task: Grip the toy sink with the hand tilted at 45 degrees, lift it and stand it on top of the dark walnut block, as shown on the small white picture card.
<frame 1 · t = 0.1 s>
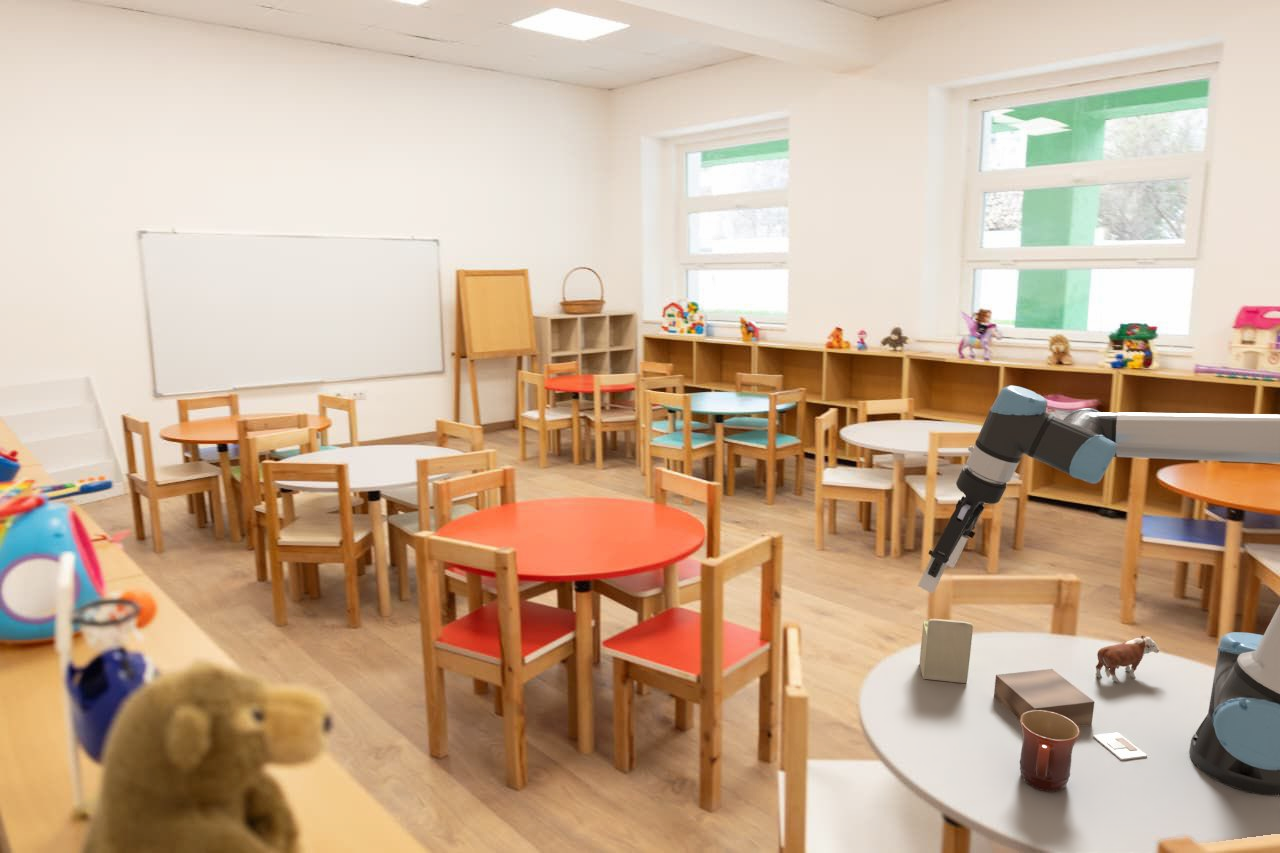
hand: (936, 576, 152), 28 cm above the table, tool tilted 20°, fingers open, 13 cm apart
walnut block: (1041, 711, 160), on the table
mug: (1041, 787, 138), on the table
bull figurine: (1122, 677, 172), on the table
toy sink: (942, 674, 173), on the table
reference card: (1119, 746, 148), on the table
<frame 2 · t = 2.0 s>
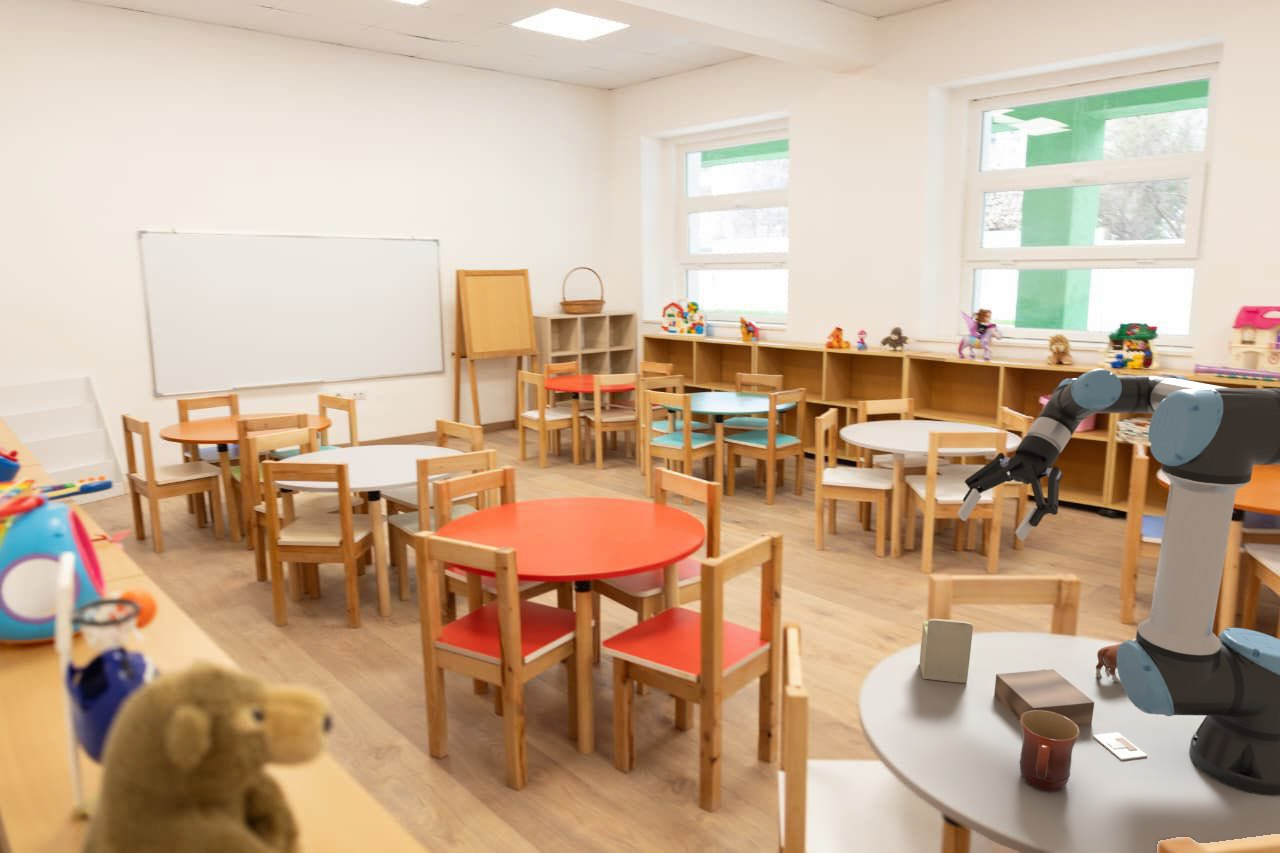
hand: (989, 526, 171), 30 cm above the table, tool tilted 45°, fingers open, 13 cm apart
nothing on the table moved.
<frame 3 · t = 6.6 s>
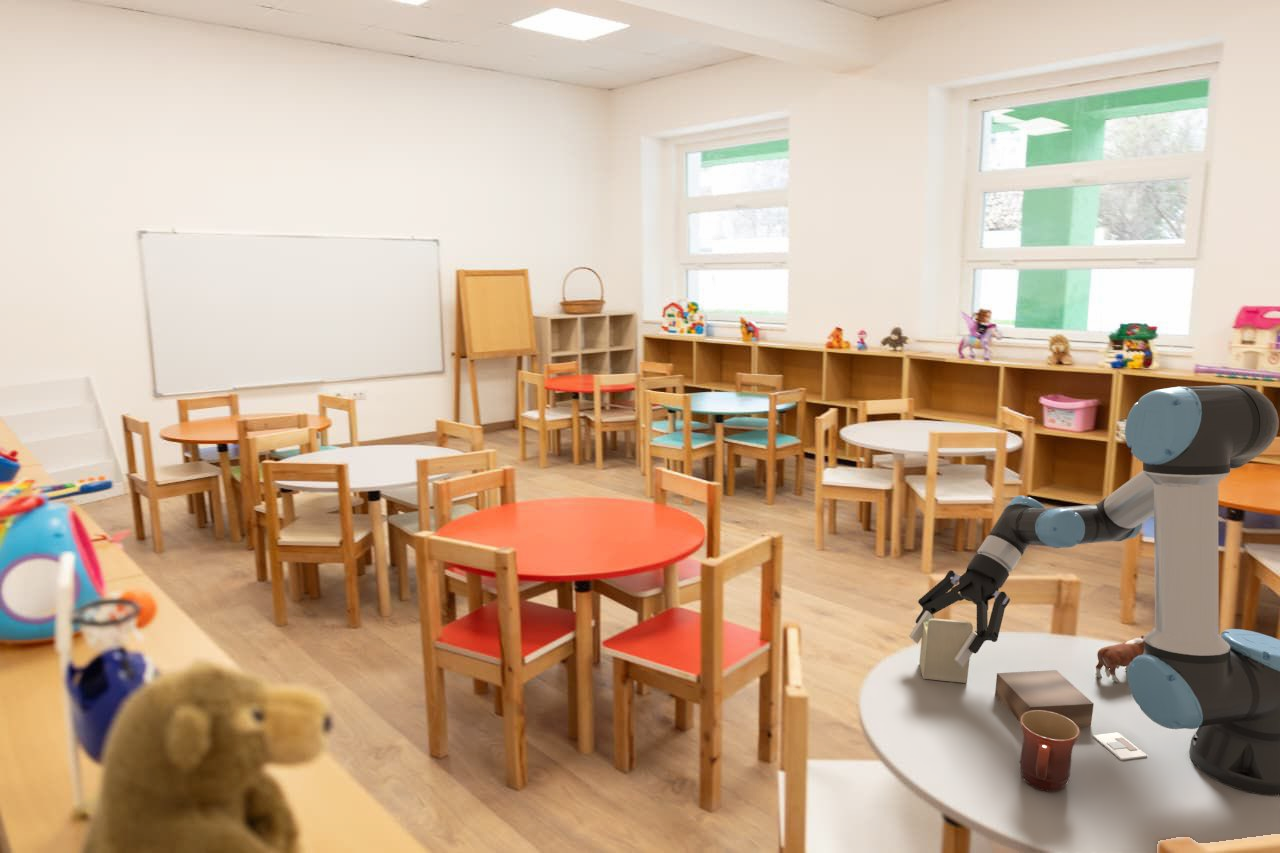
hand: (935, 651, 170), 6 cm above the table, tool tilted 45°, fingers closed on toy sink, 11 cm apart
toy sink: (942, 674, 173), on the table, touching gripper
everything else where it was.
when the fingers open (12 cm above the table, at t = 13.1 s): toy sink drops 2 cm, resting on walnut block.
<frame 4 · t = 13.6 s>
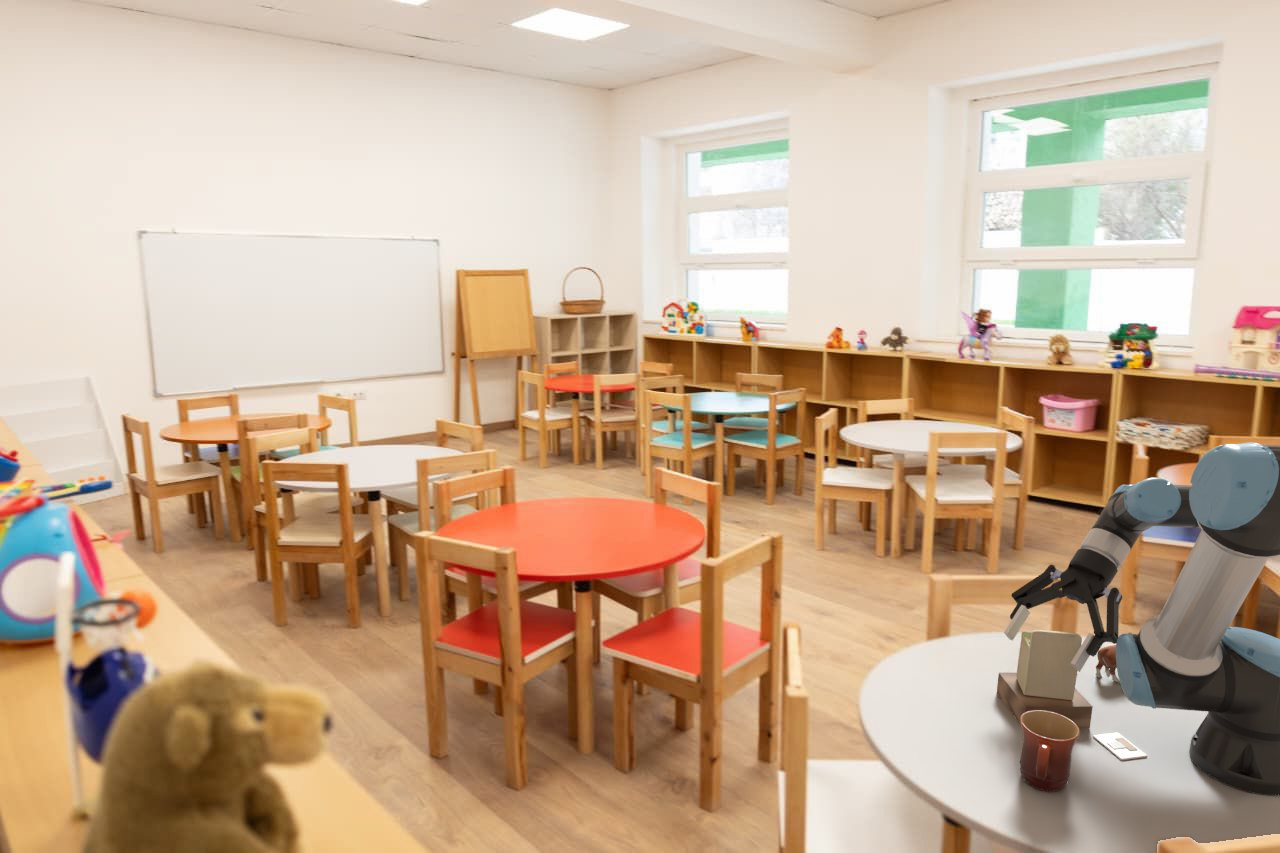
hand: (1040, 651, 156), 13 cm above the table, tool tilted 45°, fingers open, 13 cm apart
walnut block: (1041, 712, 160), on the table, touching toy sink
toy sink: (1044, 690, 159), point 4 cm above the table, touching walnut block
everything else where it was.
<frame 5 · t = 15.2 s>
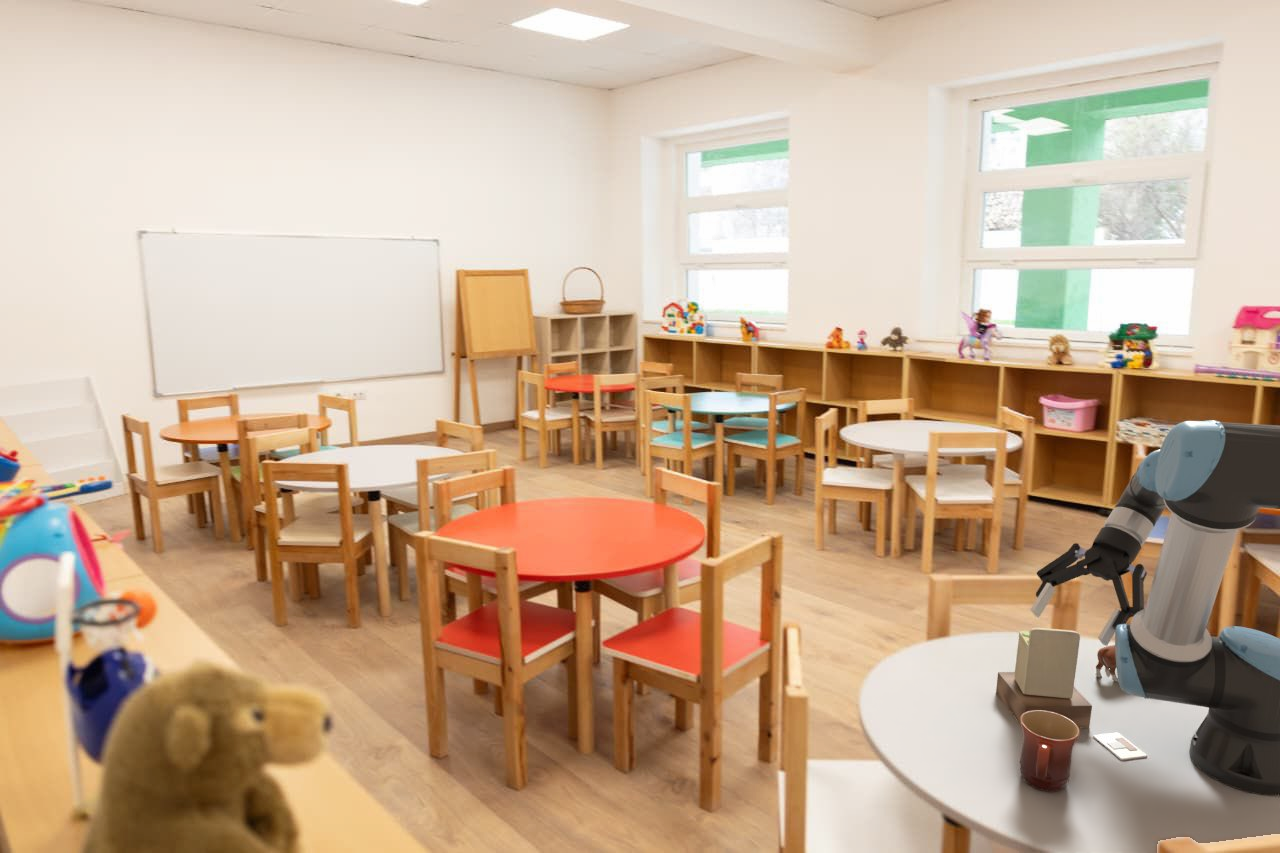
hand: (1067, 627, 160), 15 cm above the table, tool tilted 45°, fingers open, 13 cm apart
nothing on the table moved.
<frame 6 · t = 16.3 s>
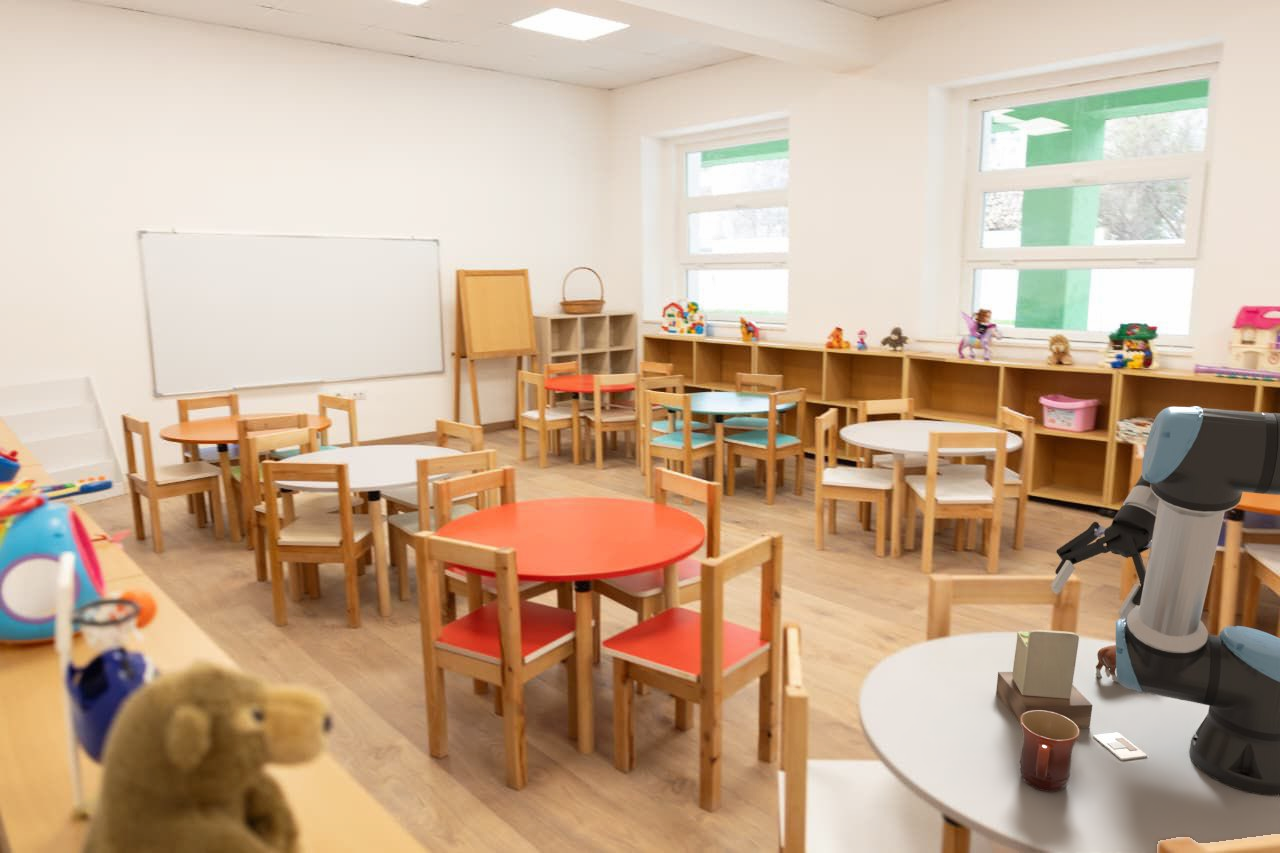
hand: (1086, 603, 162), 19 cm above the table, tool tilted 45°, fingers open, 13 cm apart
nothing on the table moved.
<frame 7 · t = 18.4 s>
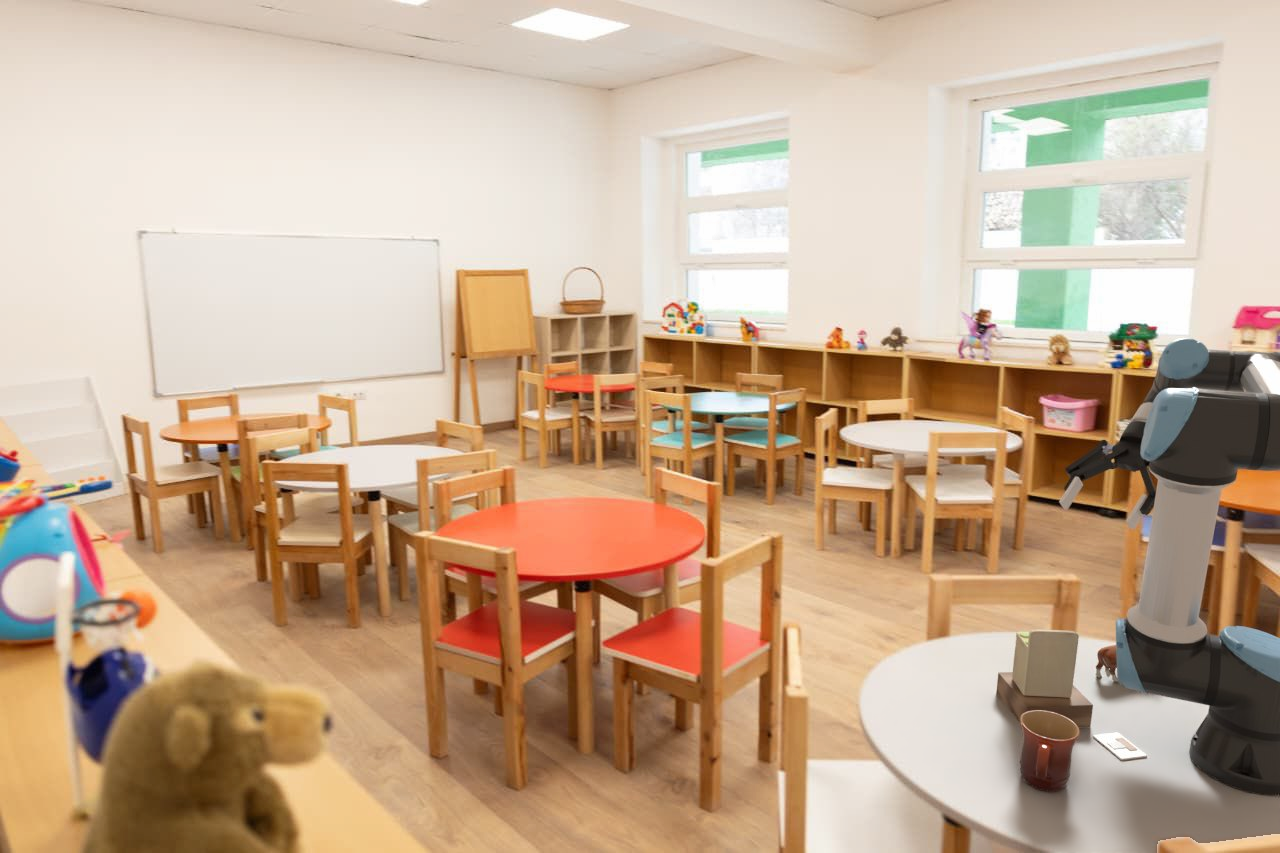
hand: (1095, 515, 166), 34 cm above the table, tool tilted 45°, fingers open, 13 cm apart
nothing on the table moved.
at the end: toy sink inside the target area on the walnut block (0.5 cm from its centre), point 4.8 cm above the walnut block's base; toy sink tilted 0°; the gripper is holding nothing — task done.
